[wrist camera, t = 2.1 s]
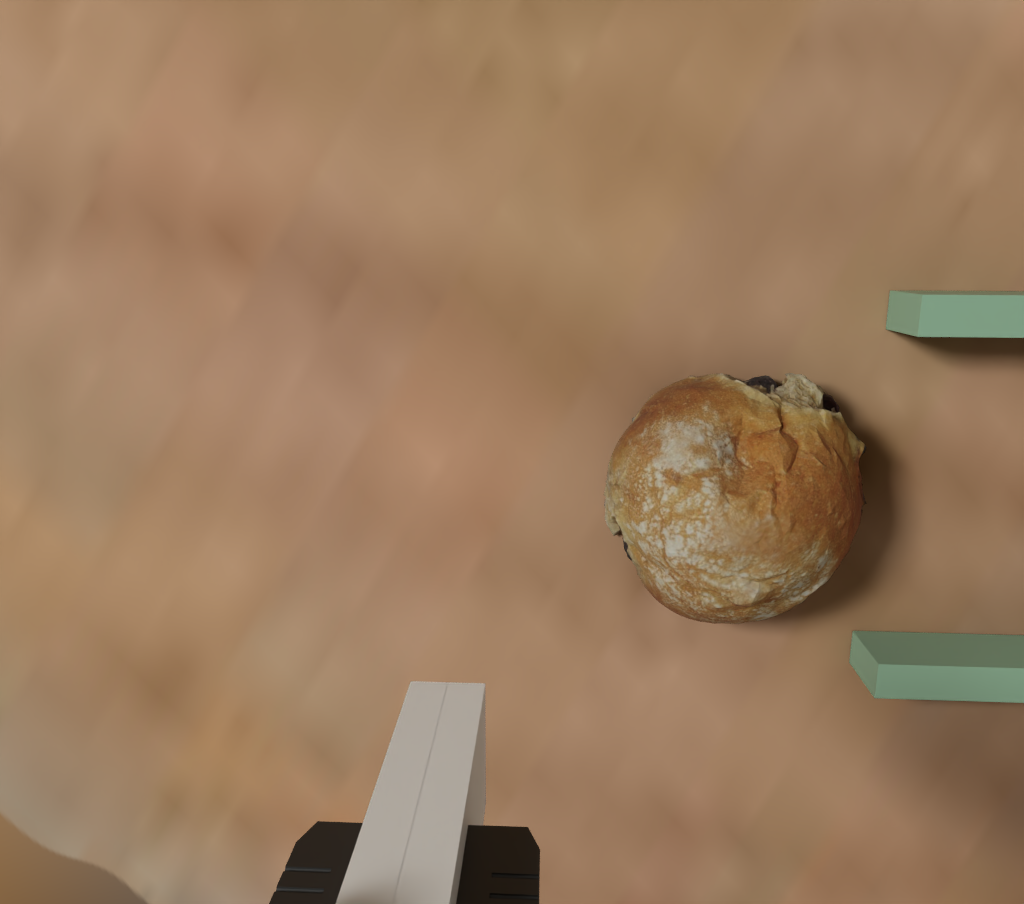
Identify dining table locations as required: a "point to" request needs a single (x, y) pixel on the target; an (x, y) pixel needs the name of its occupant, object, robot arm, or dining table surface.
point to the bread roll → (736, 495)
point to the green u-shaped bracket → (946, 656)
